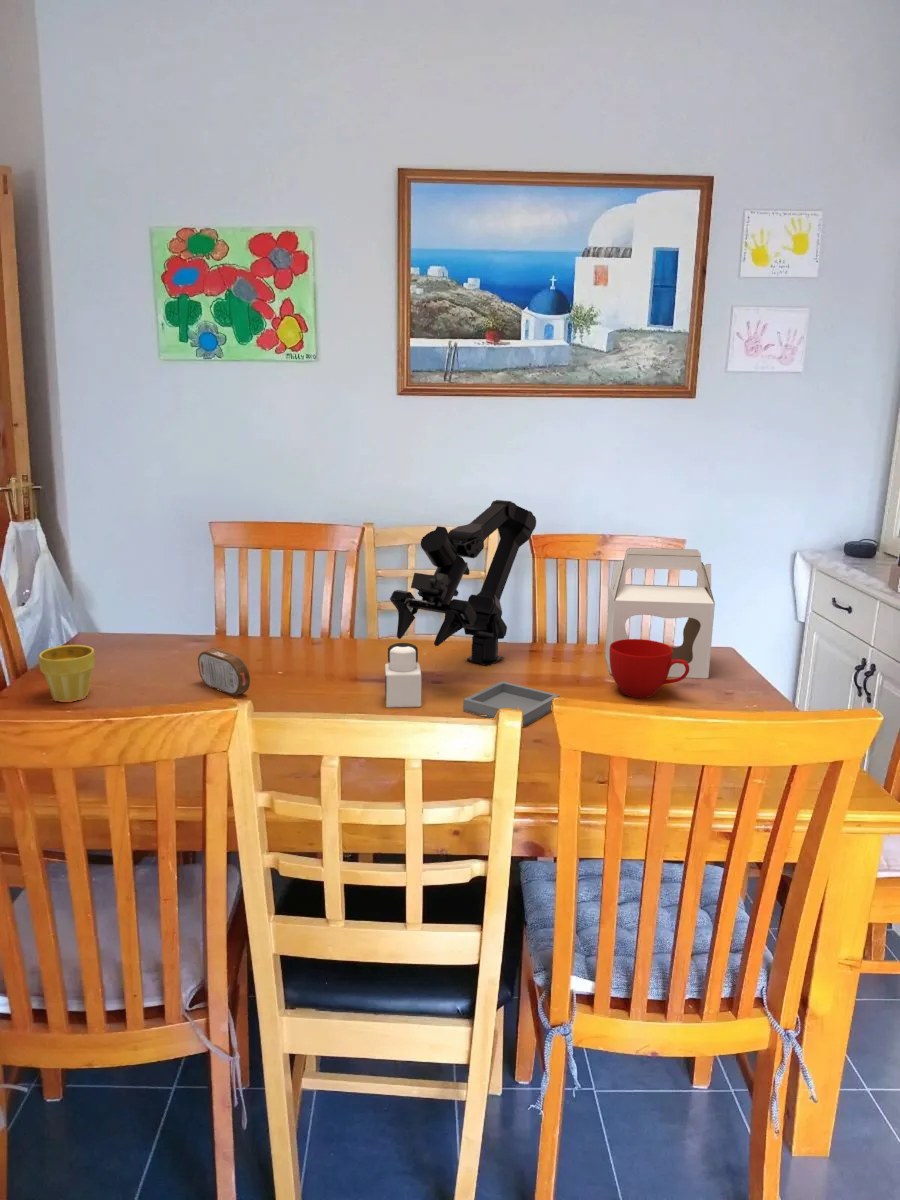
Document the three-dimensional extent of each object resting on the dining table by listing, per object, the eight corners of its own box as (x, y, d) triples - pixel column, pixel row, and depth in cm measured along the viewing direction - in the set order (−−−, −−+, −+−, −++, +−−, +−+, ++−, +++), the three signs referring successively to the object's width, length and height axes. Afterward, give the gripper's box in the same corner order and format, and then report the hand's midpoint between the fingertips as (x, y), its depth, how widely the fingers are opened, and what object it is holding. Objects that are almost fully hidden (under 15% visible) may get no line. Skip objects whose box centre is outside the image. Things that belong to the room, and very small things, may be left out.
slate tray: (501, 692, 187) (501, 681, 186) (559, 706, 179) (560, 695, 178) (463, 711, 176) (463, 699, 175) (523, 727, 168) (523, 715, 167)
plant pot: (95, 703, 177) (91, 657, 175) (39, 708, 174) (34, 661, 172) (100, 687, 187) (96, 642, 185) (47, 691, 184) (42, 646, 182)
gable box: (608, 675, 199) (616, 553, 192) (604, 657, 211) (610, 542, 205) (709, 679, 197) (720, 555, 190) (698, 661, 210) (708, 545, 203)
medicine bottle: (385, 695, 184) (384, 640, 181) (419, 695, 184) (419, 640, 182) (385, 708, 177) (385, 650, 174) (421, 707, 178) (421, 650, 175)
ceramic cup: (676, 711, 177) (680, 664, 174) (597, 695, 186) (600, 650, 183) (695, 693, 188) (699, 648, 185) (620, 678, 196) (623, 635, 194)
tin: (252, 696, 182) (250, 658, 180) (239, 700, 180) (237, 661, 178) (209, 680, 192) (206, 643, 190) (196, 684, 190) (194, 646, 188)
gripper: (394, 552, 187) (363, 613, 180) (470, 562, 177) (440, 627, 171) (415, 582, 195) (386, 642, 188) (489, 593, 185) (460, 656, 179)
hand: (416, 641), depth 181 cm, fingers open, 9 cm apart
